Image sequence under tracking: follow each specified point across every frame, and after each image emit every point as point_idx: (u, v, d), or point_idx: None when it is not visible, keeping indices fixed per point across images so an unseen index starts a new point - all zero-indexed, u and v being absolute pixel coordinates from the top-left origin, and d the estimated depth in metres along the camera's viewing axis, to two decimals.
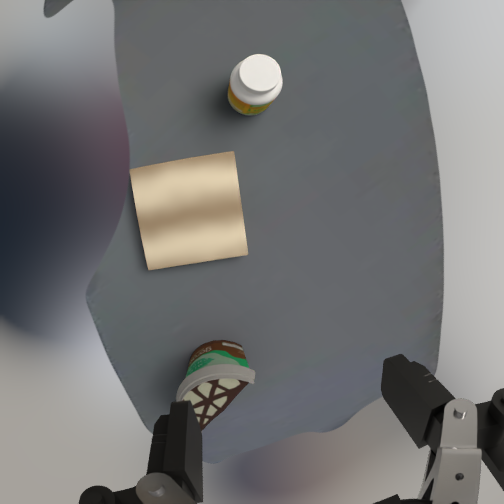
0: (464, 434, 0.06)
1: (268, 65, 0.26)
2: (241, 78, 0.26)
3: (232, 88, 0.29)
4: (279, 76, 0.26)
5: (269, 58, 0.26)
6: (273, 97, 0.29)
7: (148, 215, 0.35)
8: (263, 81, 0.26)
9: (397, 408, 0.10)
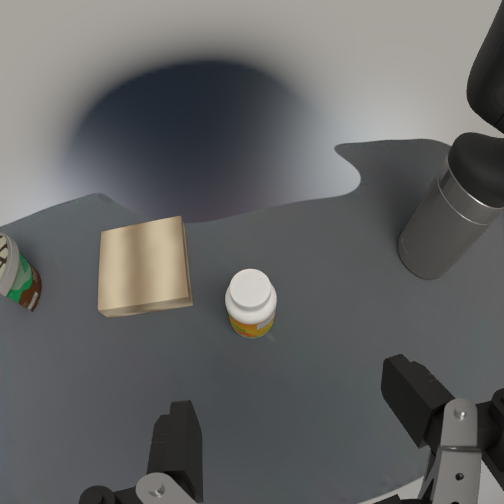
0: (464, 434, 0.06)
1: (259, 293, 0.30)
2: (241, 271, 0.31)
3: None
4: (247, 305, 0.29)
5: (267, 294, 0.30)
6: (232, 313, 0.31)
7: (142, 230, 0.42)
8: (240, 290, 0.30)
9: (397, 408, 0.10)
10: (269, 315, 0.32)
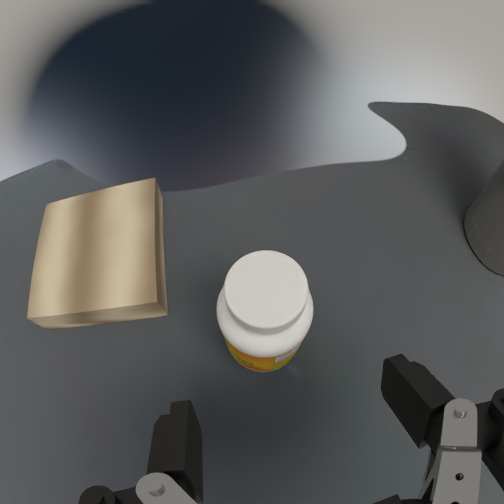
0: (464, 434, 0.06)
1: (285, 300, 0.14)
2: (249, 254, 0.16)
3: None
4: (261, 324, 0.14)
5: (301, 302, 0.14)
6: (230, 337, 0.16)
7: (98, 200, 0.26)
8: (246, 294, 0.14)
9: (397, 408, 0.10)
10: (300, 340, 0.16)
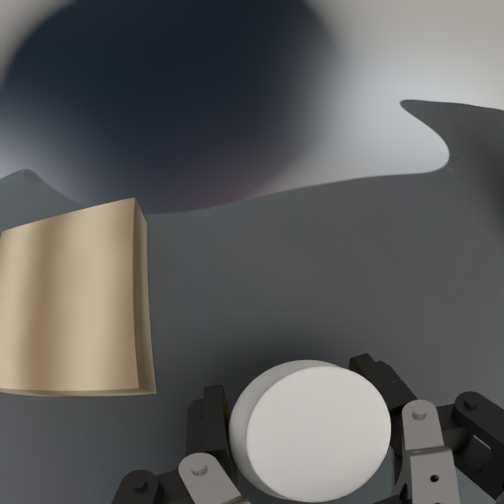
0: (428, 435, 0.07)
1: (353, 456, 0.07)
2: (290, 376, 0.08)
3: (273, 368, 0.11)
4: (312, 499, 0.06)
5: (379, 455, 0.07)
6: (252, 481, 0.08)
7: (61, 228, 0.19)
8: (287, 451, 0.07)
9: None
10: None
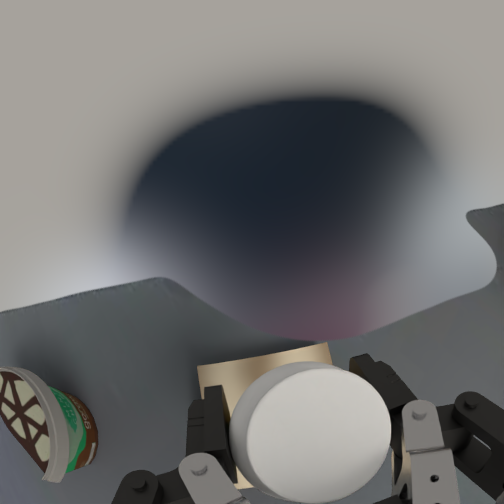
0: (428, 435, 0.07)
1: (353, 458, 0.07)
2: (290, 378, 0.08)
3: None
4: (312, 500, 0.06)
5: (379, 457, 0.07)
6: (252, 482, 0.08)
7: (270, 368, 0.27)
8: (287, 453, 0.07)
9: None
10: None
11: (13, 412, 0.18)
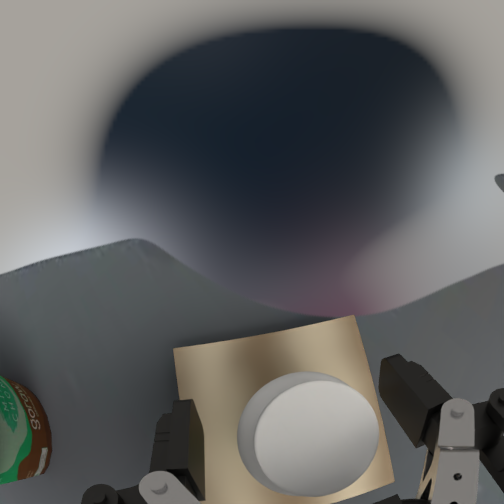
0: (461, 434, 0.06)
1: (346, 457, 0.08)
2: (291, 389, 0.09)
3: (276, 379, 0.12)
4: (311, 493, 0.07)
5: (369, 457, 0.08)
6: (258, 479, 0.09)
7: (276, 351, 0.19)
8: (290, 453, 0.08)
9: (394, 408, 0.10)
10: None
11: None
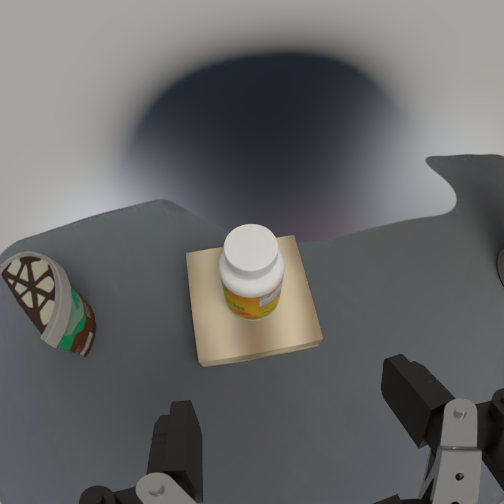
0: (464, 434, 0.06)
1: (262, 254, 0.23)
2: (240, 226, 0.24)
3: None
4: (247, 268, 0.22)
5: (273, 255, 0.23)
6: (227, 283, 0.24)
7: None
8: (238, 250, 0.23)
9: (397, 408, 0.10)
10: (275, 285, 0.25)
11: (25, 287, 0.25)
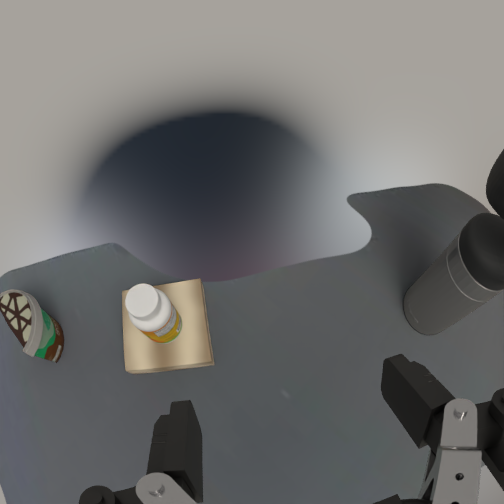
0: (464, 434, 0.06)
1: (147, 305, 0.32)
2: (136, 285, 0.34)
3: None
4: (137, 315, 0.32)
5: (153, 306, 0.32)
6: (132, 321, 0.34)
7: None
8: (133, 302, 0.33)
9: (397, 408, 0.10)
10: (162, 324, 0.34)
11: (13, 315, 0.35)
